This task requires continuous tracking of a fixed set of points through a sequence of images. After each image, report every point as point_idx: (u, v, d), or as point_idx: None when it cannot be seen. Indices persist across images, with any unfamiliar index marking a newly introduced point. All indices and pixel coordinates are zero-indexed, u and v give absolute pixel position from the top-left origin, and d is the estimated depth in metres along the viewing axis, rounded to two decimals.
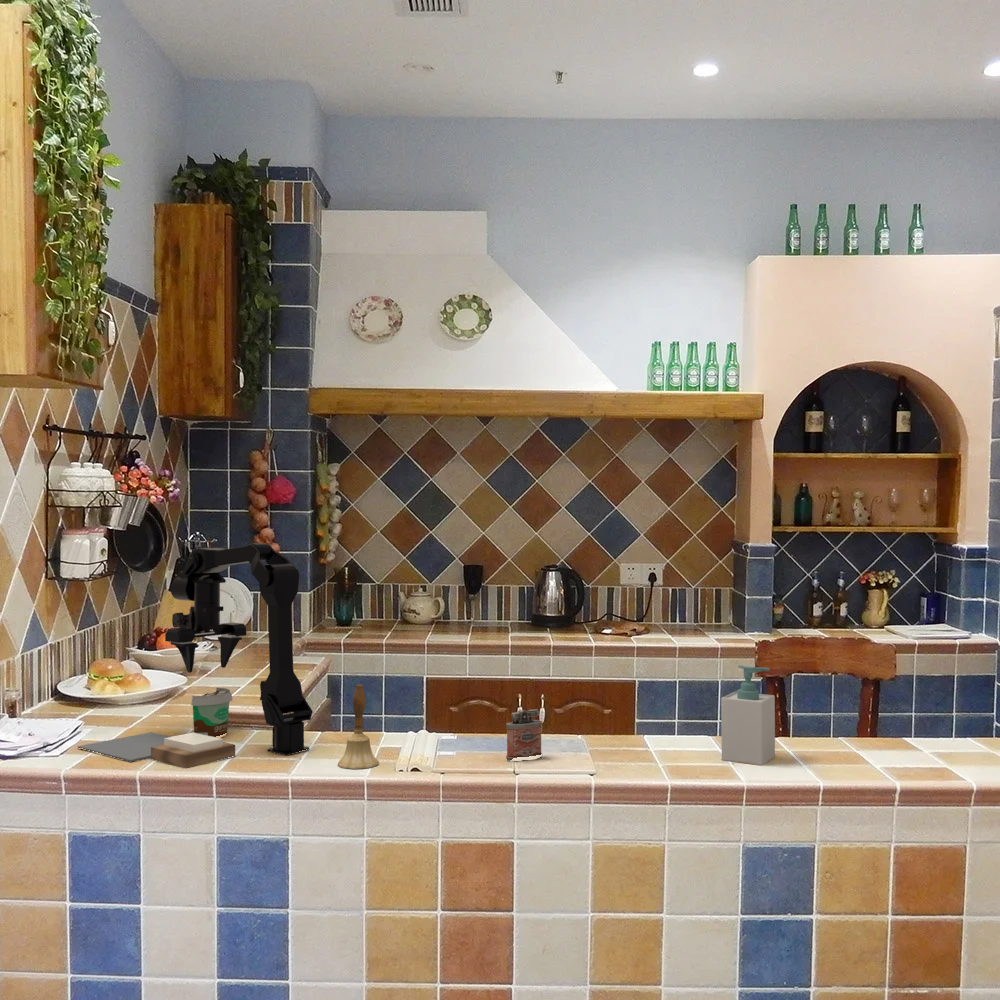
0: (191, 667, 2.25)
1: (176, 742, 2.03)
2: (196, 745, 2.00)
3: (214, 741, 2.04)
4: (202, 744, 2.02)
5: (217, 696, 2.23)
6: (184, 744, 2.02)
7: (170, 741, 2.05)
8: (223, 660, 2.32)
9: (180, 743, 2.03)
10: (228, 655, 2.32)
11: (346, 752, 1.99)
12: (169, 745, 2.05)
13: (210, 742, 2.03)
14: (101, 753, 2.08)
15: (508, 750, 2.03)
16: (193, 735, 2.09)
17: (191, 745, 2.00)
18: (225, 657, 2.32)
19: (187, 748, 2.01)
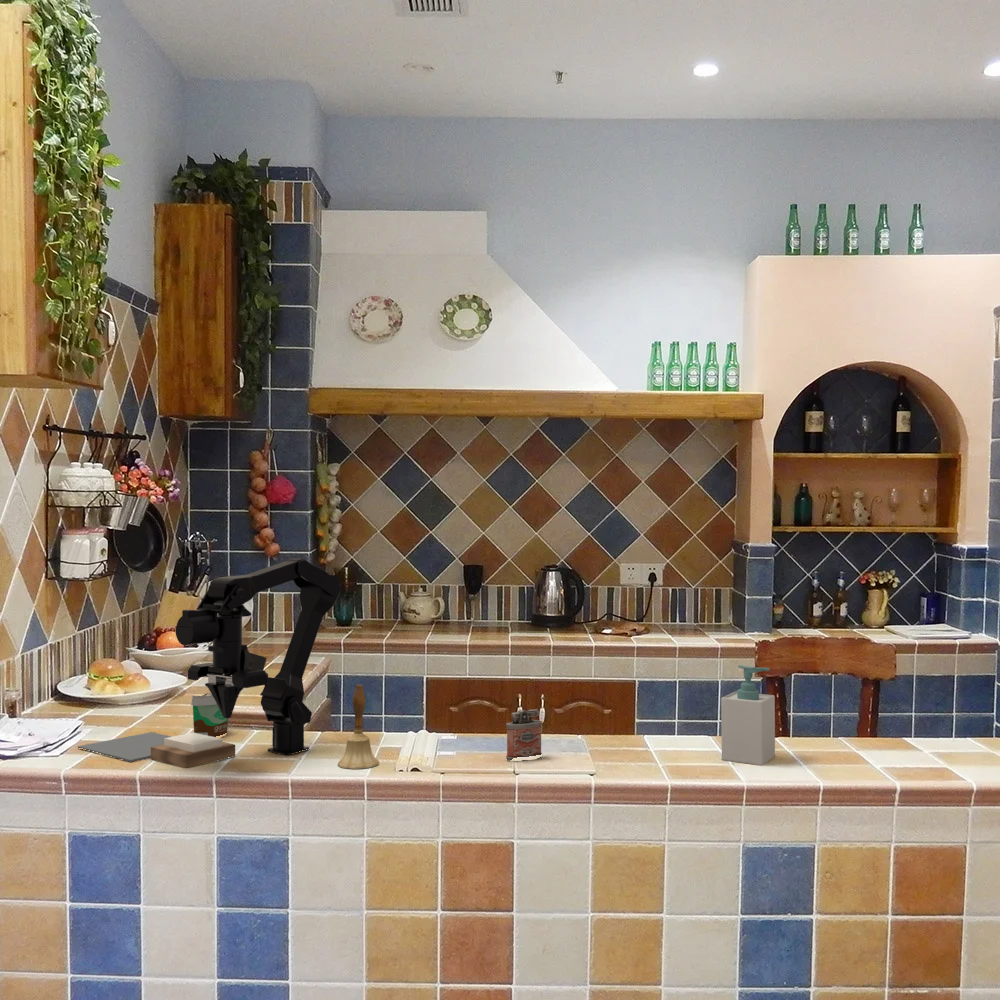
0: (221, 712, 1.99)
1: (176, 742, 2.03)
2: (196, 745, 2.00)
3: (214, 741, 2.04)
4: (202, 744, 2.02)
5: None
6: (184, 744, 2.02)
7: (170, 741, 2.05)
8: None
9: (180, 743, 2.03)
10: (222, 705, 1.98)
11: (346, 752, 1.99)
12: (169, 745, 2.05)
13: (210, 742, 2.03)
14: (101, 753, 2.08)
15: (508, 750, 2.03)
16: (193, 735, 2.09)
17: (191, 745, 2.00)
18: None
19: (187, 748, 2.01)
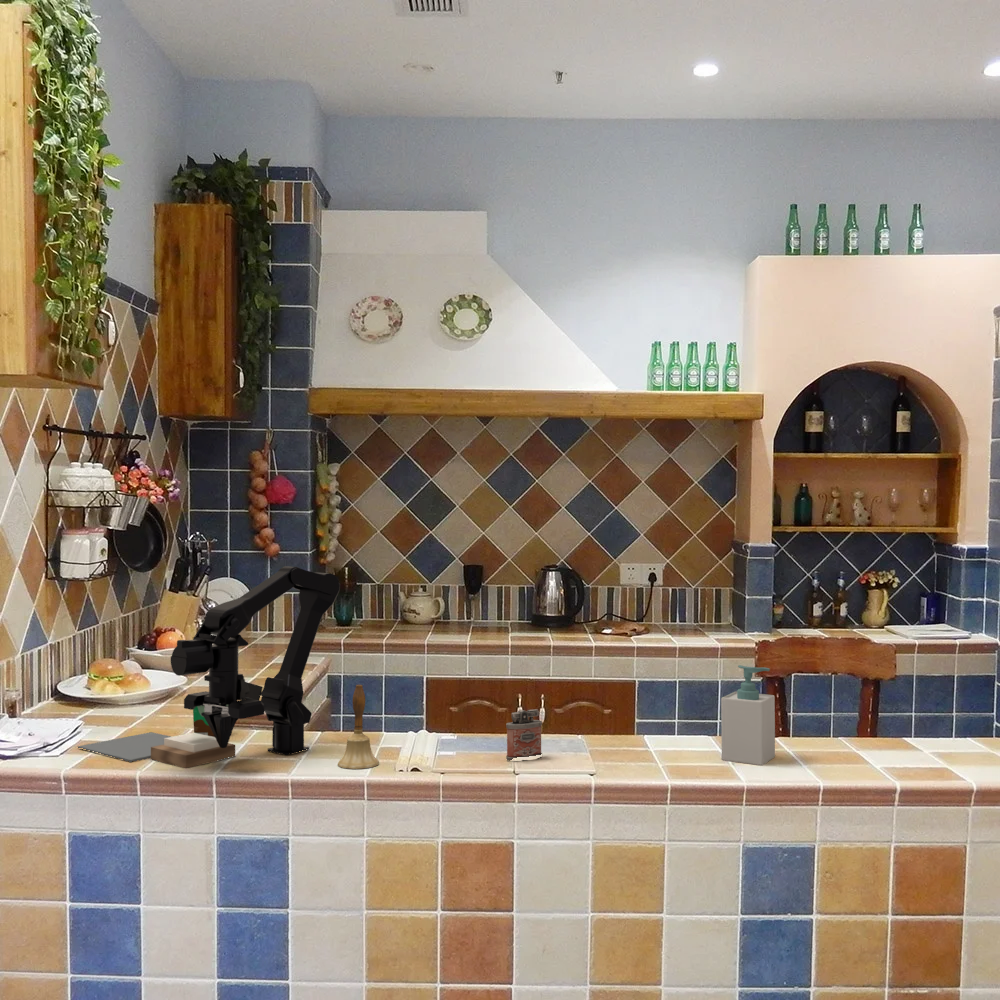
0: (218, 742, 1.99)
1: (176, 742, 2.03)
2: (196, 745, 2.00)
3: (214, 741, 2.04)
4: (202, 744, 2.02)
5: None
6: (184, 744, 2.02)
7: (170, 741, 2.05)
8: None
9: (180, 743, 2.03)
10: (218, 734, 1.98)
11: (346, 752, 1.99)
12: (169, 745, 2.05)
13: (210, 742, 2.03)
14: (101, 753, 2.08)
15: (508, 750, 2.03)
16: (193, 735, 2.09)
17: (191, 745, 2.00)
18: None
19: (187, 748, 2.01)
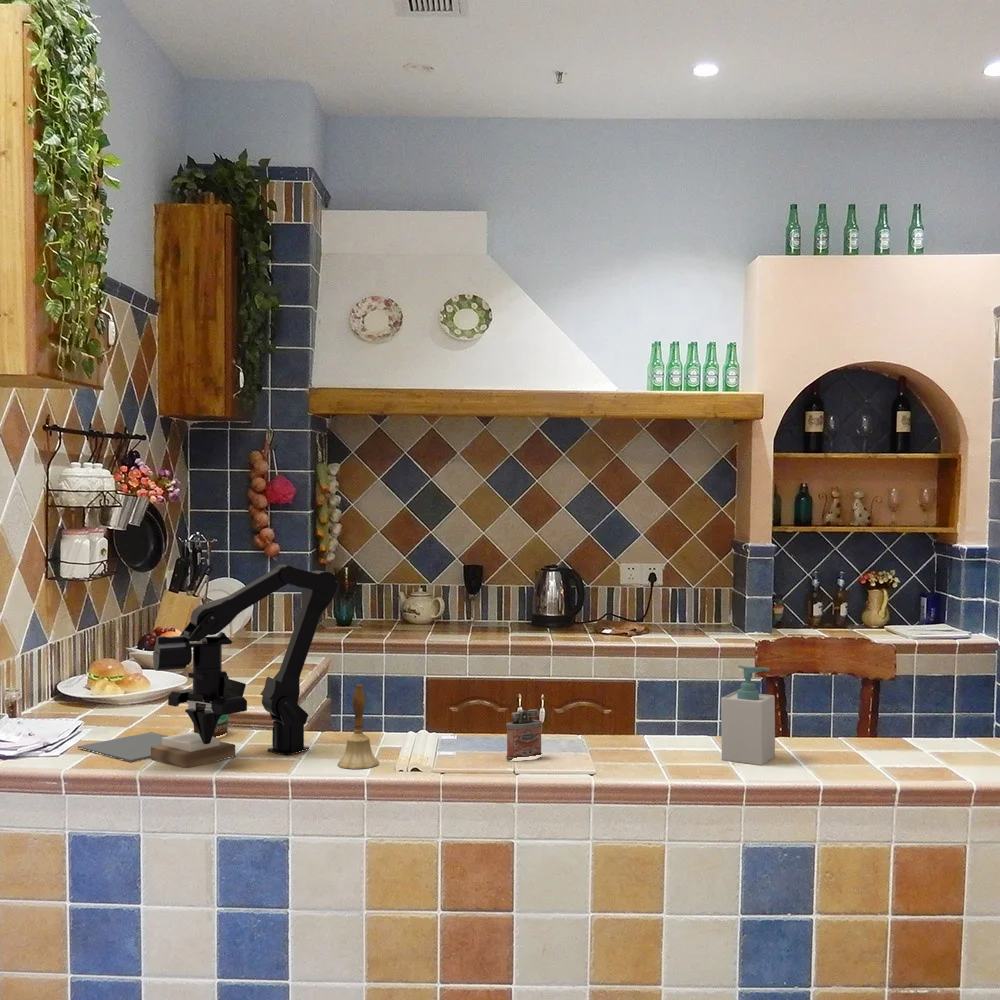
0: (201, 738, 2.02)
1: (173, 741, 2.04)
2: (193, 744, 2.01)
3: (211, 740, 2.04)
4: (199, 743, 2.02)
5: None
6: (181, 743, 2.02)
7: (168, 740, 2.05)
8: None
9: (177, 742, 2.03)
10: (201, 730, 2.01)
11: (346, 752, 1.99)
12: (166, 744, 2.05)
13: None
14: (101, 753, 2.08)
15: (508, 750, 2.03)
16: (190, 734, 2.09)
17: (188, 744, 2.01)
18: None
19: (184, 748, 2.02)
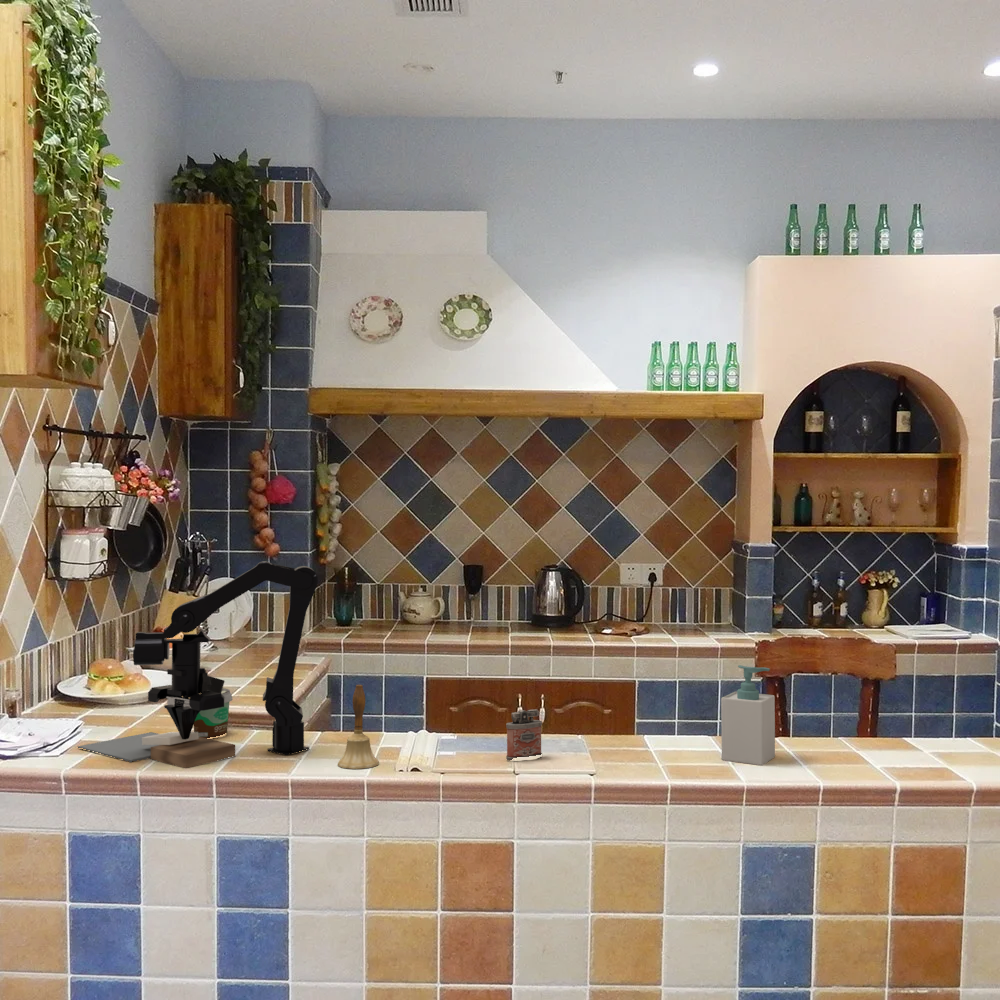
0: (180, 733, 2.07)
1: (153, 738, 2.08)
2: (172, 738, 2.05)
3: (190, 734, 2.09)
4: (178, 737, 2.07)
5: None
6: (160, 739, 2.07)
7: (147, 738, 2.10)
8: None
9: (157, 739, 2.08)
10: (180, 726, 2.06)
11: (346, 752, 1.99)
12: (147, 743, 2.10)
13: None
14: (101, 753, 2.08)
15: (508, 750, 2.03)
16: (170, 733, 2.14)
17: (167, 738, 2.05)
18: None
19: (163, 742, 2.06)
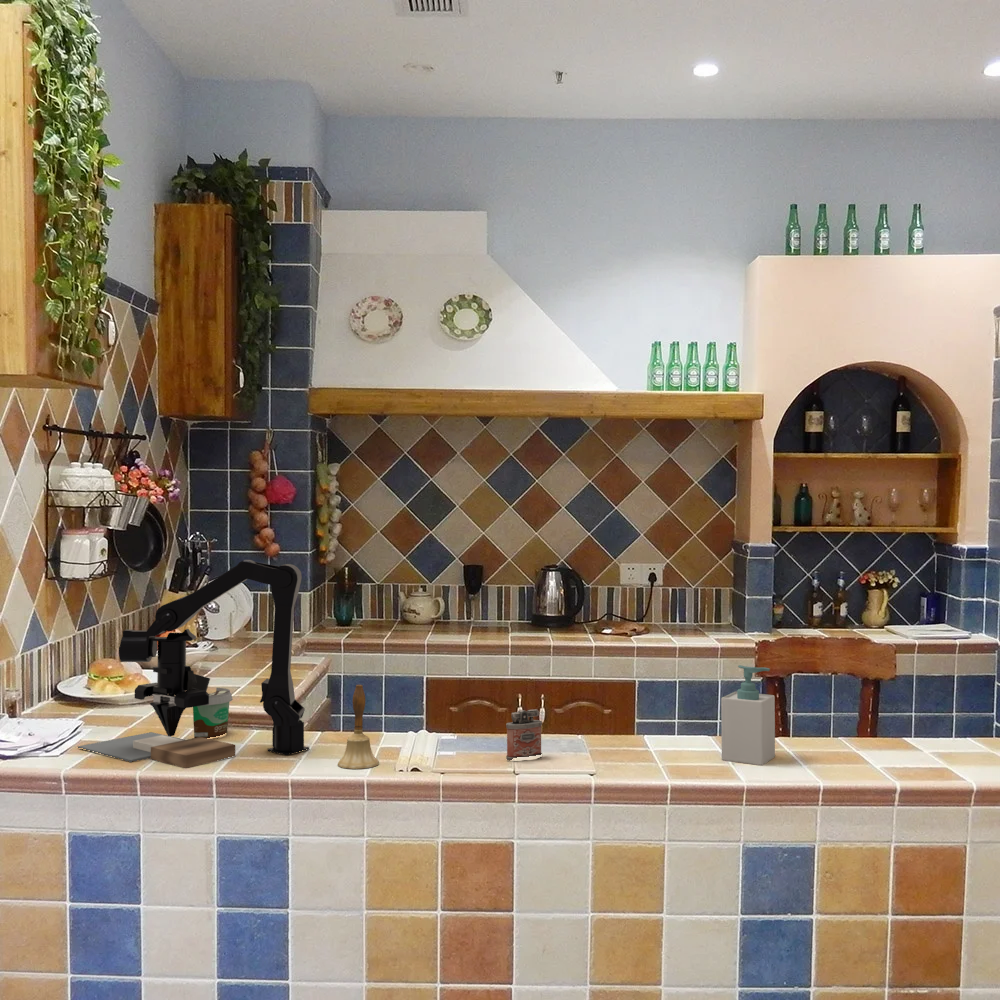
0: (165, 730, 2.10)
1: (144, 744, 2.10)
2: None
3: None
4: None
5: (217, 696, 2.23)
6: (151, 746, 2.08)
7: (139, 743, 2.11)
8: None
9: (148, 745, 2.09)
10: (166, 723, 2.09)
11: (346, 752, 1.99)
12: (137, 747, 2.11)
13: None
14: (101, 753, 2.08)
15: (508, 750, 2.03)
16: (161, 738, 2.15)
17: None
18: None
19: None
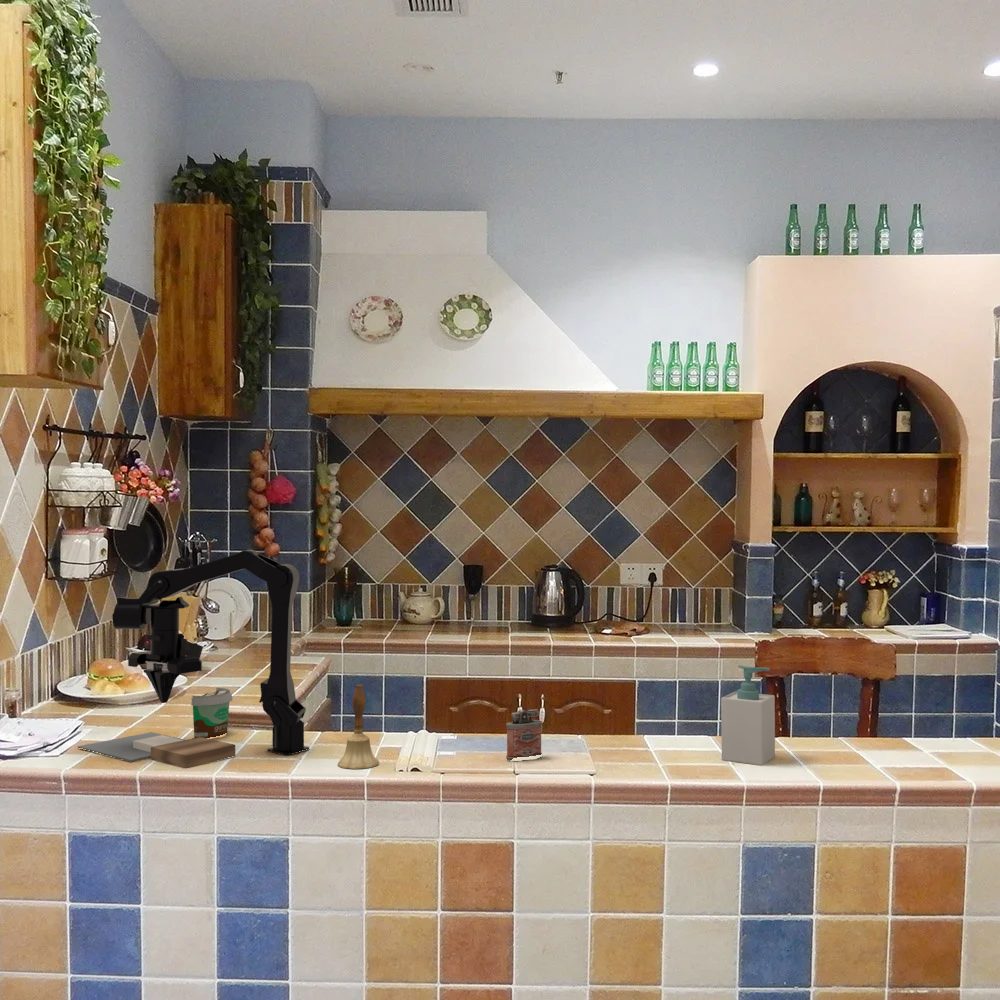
0: None
1: (144, 744, 2.10)
2: None
3: None
4: None
5: (217, 696, 2.23)
6: (151, 746, 2.08)
7: (139, 743, 2.11)
8: None
9: (148, 745, 2.09)
10: (159, 690, 2.10)
11: (346, 752, 1.99)
12: (137, 747, 2.11)
13: None
14: (101, 753, 2.08)
15: (508, 750, 2.03)
16: (161, 738, 2.15)
17: None
18: None
19: None
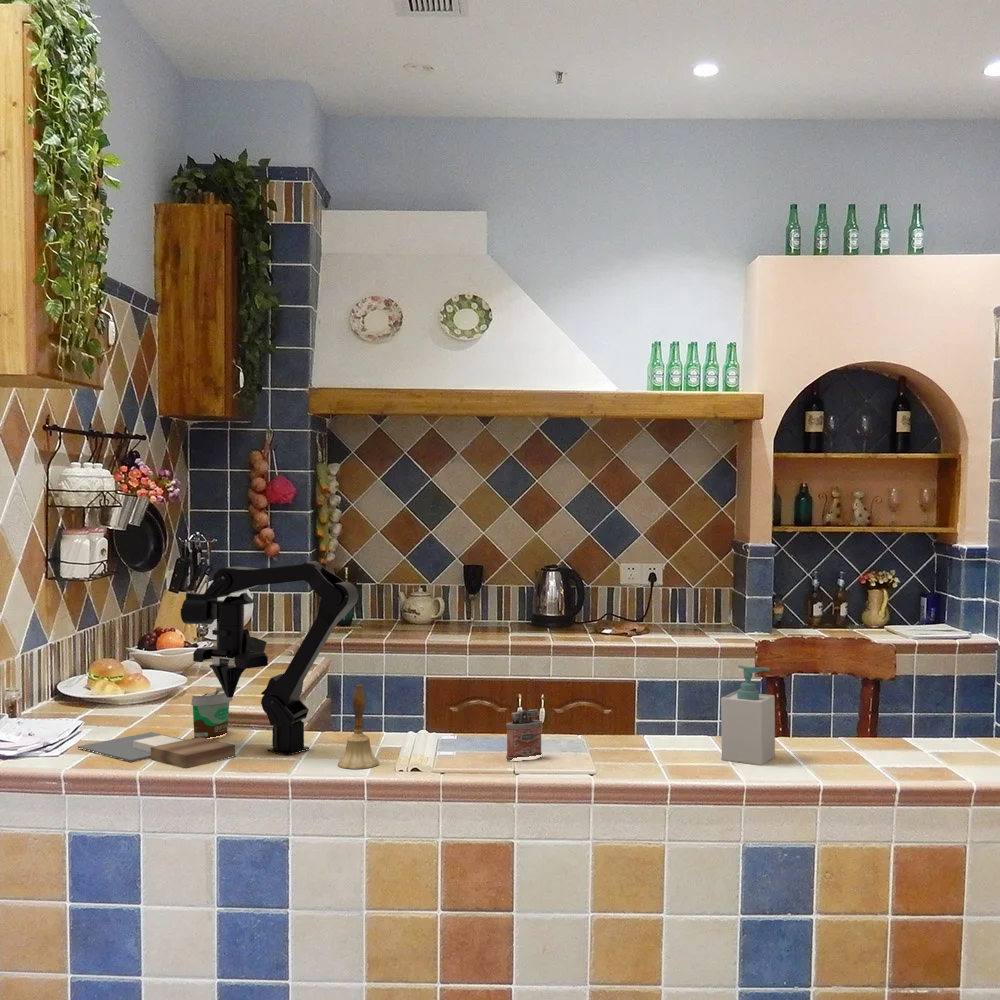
0: (224, 691, 2.14)
1: (144, 744, 2.10)
2: None
3: None
4: None
5: (217, 696, 2.23)
6: (151, 746, 2.08)
7: (139, 743, 2.11)
8: None
9: (148, 745, 2.09)
10: (225, 684, 2.13)
11: (346, 752, 1.99)
12: (137, 747, 2.11)
13: None
14: (101, 753, 2.08)
15: (508, 750, 2.03)
16: (161, 738, 2.15)
17: None
18: None
19: None
